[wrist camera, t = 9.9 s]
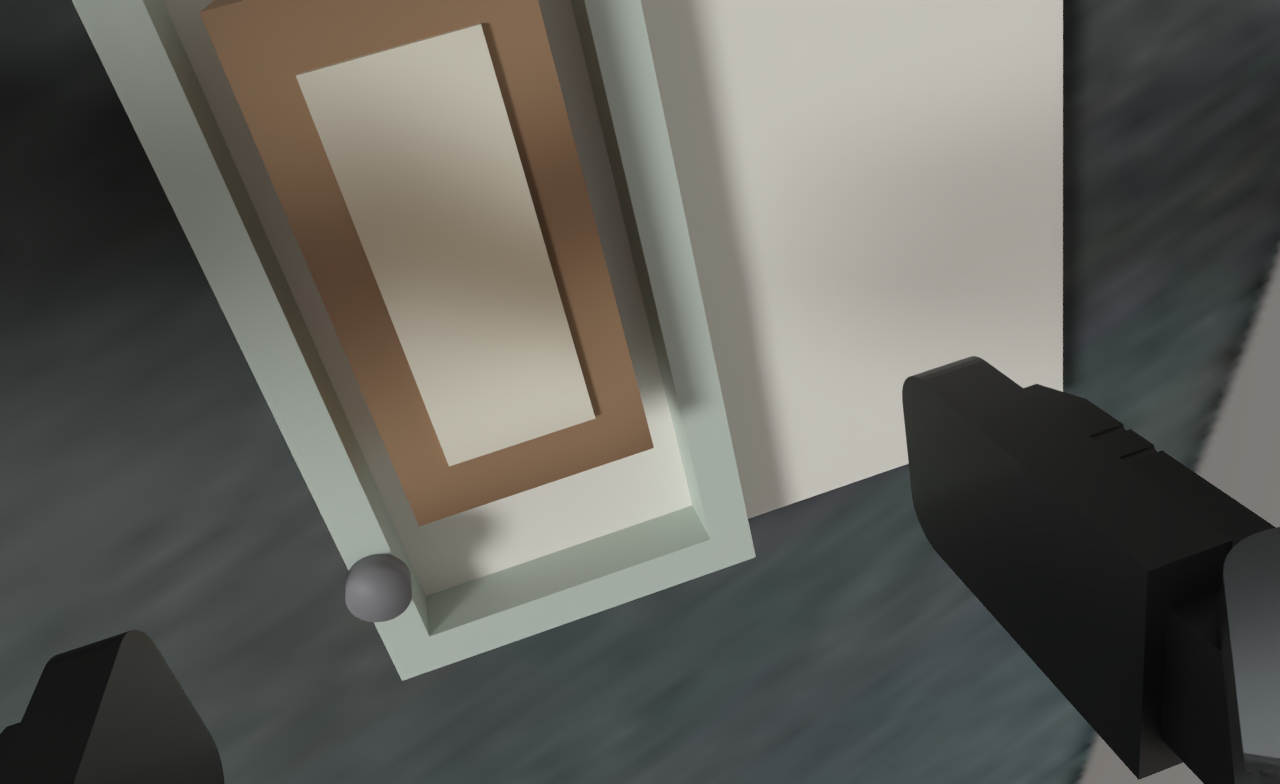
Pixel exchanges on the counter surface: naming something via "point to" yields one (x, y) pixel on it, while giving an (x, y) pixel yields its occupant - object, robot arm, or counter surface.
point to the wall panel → (669, 279)
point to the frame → (443, 233)
